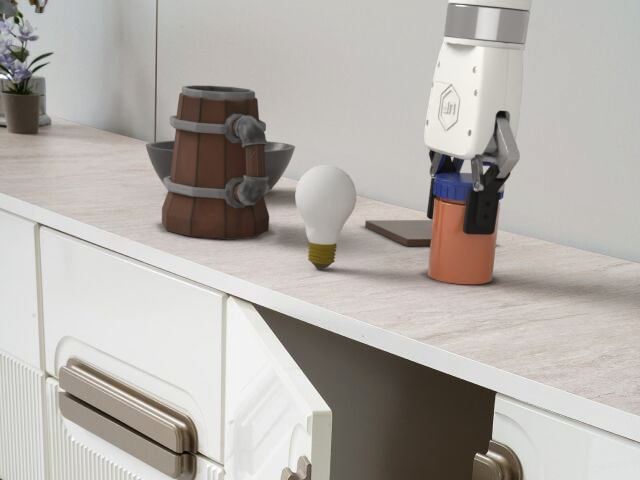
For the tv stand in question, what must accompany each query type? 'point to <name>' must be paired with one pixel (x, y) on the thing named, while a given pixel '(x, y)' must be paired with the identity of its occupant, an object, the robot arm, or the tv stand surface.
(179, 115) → the mug
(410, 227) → the plate
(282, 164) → the bowl
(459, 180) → the lid
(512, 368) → the tv stand surface
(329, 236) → the light bulb
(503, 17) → the robot arm
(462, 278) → the jar
